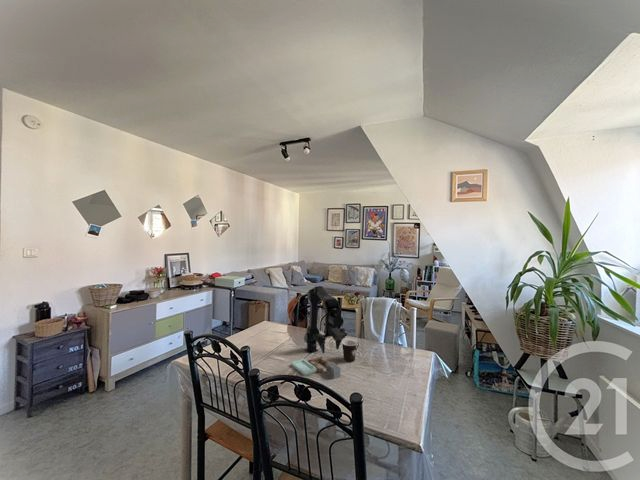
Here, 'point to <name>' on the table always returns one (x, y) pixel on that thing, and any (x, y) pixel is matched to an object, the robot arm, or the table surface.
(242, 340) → the table surface
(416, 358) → the table surface
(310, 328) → the robot arm
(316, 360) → the socket
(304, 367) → the pale teal tray
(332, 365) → the grey rectangular block
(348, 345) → the coffee mug
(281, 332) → the table surface
